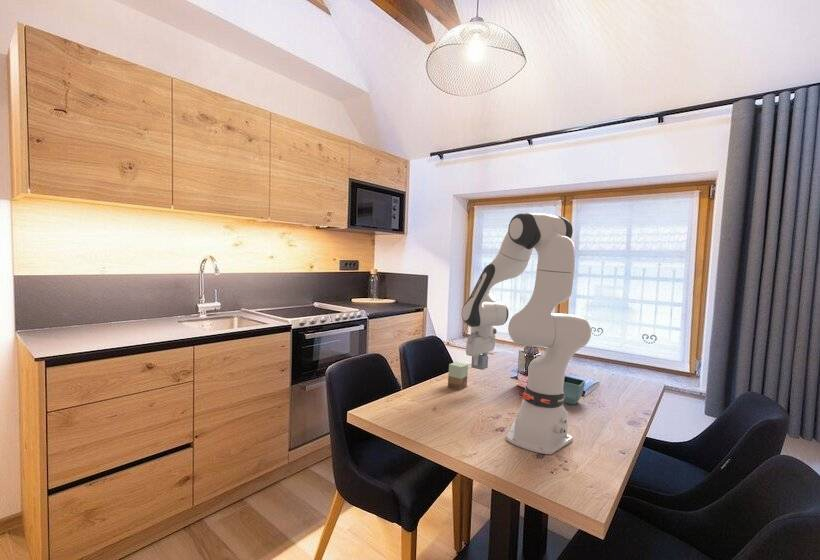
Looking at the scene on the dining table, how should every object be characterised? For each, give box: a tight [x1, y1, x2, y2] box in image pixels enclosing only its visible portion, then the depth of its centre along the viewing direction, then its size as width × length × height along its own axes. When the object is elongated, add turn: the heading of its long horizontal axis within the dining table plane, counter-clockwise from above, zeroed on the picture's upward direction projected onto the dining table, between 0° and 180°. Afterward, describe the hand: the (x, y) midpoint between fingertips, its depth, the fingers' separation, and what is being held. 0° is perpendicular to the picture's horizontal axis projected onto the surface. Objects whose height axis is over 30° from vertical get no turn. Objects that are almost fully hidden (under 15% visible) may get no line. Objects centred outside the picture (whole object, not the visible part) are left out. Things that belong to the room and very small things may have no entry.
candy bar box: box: [516, 349, 543, 377], centre depth 166 cm, size 11×5×16 cm, turn 23°
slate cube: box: [470, 354, 489, 371], centre depth 158 cm, size 5×5×5 cm
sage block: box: [448, 361, 469, 379], centre depth 163 cm, size 6×6×5 cm
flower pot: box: [563, 375, 586, 406], centre depth 152 cm, size 9×9×9 cm
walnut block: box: [447, 375, 468, 391], centre depth 163 cm, size 6×6×5 cm
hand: (479, 363), depth 157 cm, fingers closed on slate cube, 5 cm apart
